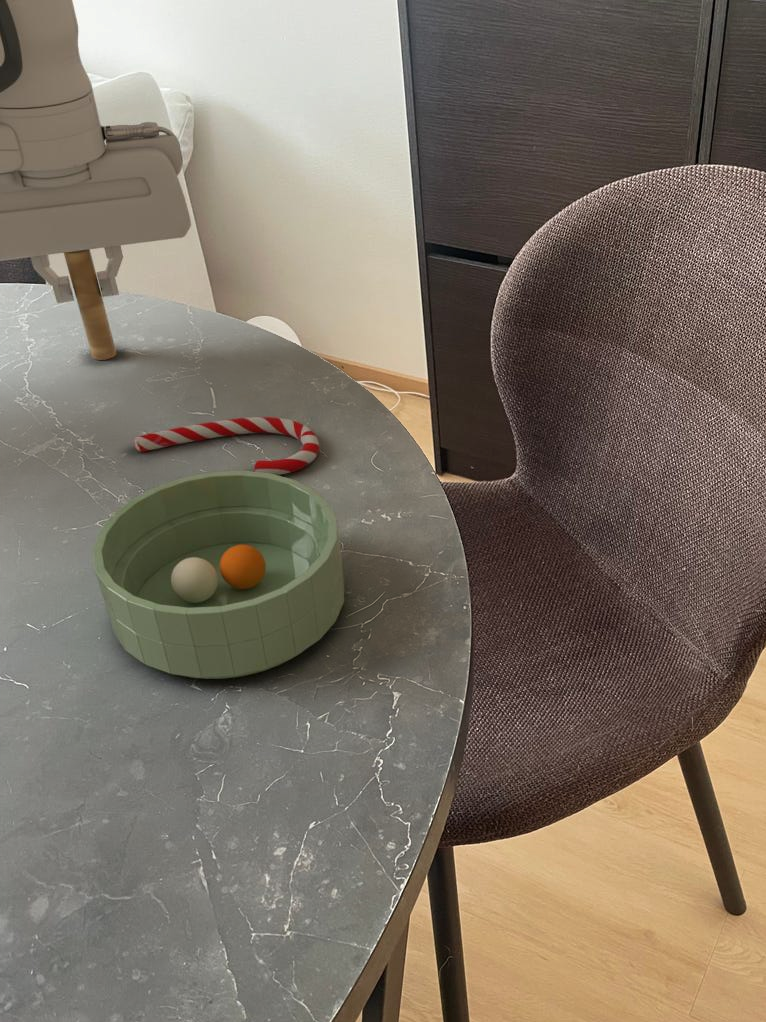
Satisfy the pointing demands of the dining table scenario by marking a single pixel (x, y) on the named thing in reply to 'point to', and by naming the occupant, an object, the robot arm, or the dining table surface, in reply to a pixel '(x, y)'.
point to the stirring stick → (90, 304)
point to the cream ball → (194, 580)
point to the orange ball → (242, 566)
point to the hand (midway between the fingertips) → (88, 296)
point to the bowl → (229, 611)
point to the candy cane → (241, 427)
